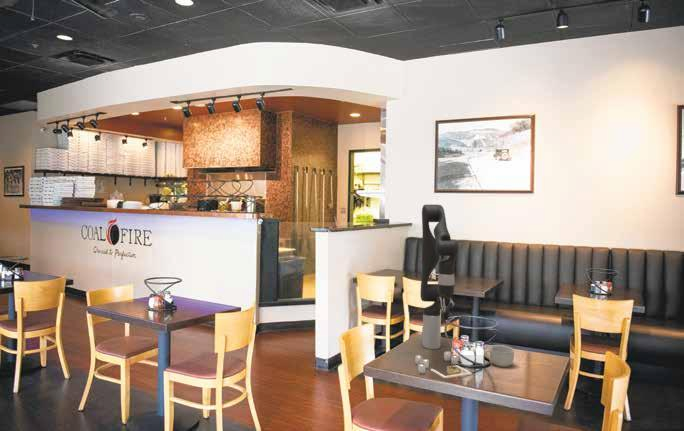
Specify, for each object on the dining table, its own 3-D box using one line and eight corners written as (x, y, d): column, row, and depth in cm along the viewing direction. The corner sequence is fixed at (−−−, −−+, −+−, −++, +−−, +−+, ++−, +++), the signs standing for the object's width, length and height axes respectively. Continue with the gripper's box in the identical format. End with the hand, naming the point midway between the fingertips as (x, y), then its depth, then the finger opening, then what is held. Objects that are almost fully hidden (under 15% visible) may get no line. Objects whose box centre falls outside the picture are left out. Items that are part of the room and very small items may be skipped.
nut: (444, 373, 216) (444, 367, 216) (449, 370, 220) (449, 364, 220) (456, 376, 213) (456, 370, 213) (460, 373, 217) (460, 367, 217)
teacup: (510, 361, 233) (511, 345, 232) (516, 369, 222) (517, 352, 222) (481, 360, 234) (481, 344, 234) (485, 368, 223) (485, 351, 223)
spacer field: (404, 364, 227) (404, 356, 227) (455, 358, 237) (455, 350, 237) (420, 374, 214) (420, 366, 214) (473, 367, 224) (473, 358, 224)
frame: (430, 370, 220) (430, 368, 220) (457, 366, 225) (457, 365, 225) (444, 378, 209) (444, 377, 209) (471, 374, 215) (472, 373, 215)
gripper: (461, 285, 221) (460, 322, 222) (445, 280, 234) (444, 315, 235) (447, 286, 219) (446, 324, 220) (431, 281, 231) (431, 316, 232)
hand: (445, 319), depth 227 cm, fingers closed
